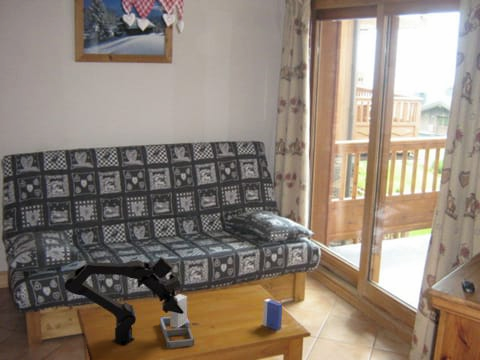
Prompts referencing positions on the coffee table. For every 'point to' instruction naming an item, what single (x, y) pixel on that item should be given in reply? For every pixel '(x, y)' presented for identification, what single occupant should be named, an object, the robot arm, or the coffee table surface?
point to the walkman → (272, 314)
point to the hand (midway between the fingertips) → (182, 309)
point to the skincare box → (178, 318)
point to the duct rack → (177, 331)
